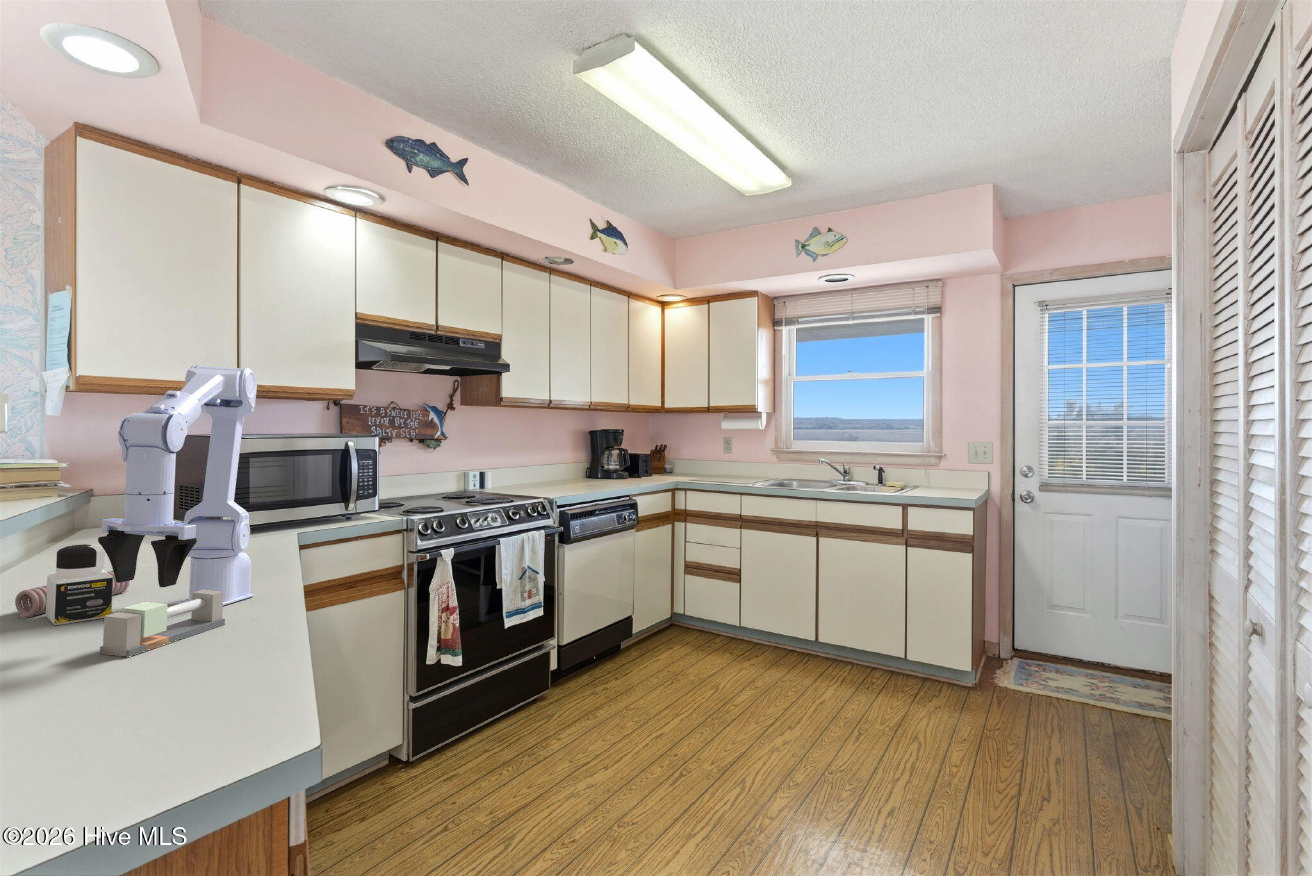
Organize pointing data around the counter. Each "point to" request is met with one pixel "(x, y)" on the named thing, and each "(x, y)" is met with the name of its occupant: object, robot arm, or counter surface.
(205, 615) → the rod with sliding collar
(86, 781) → the counter surface
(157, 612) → the sleeve
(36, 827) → the counter surface
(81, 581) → the medicine bottle
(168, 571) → the robot arm
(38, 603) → the coil
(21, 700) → the counter surface
